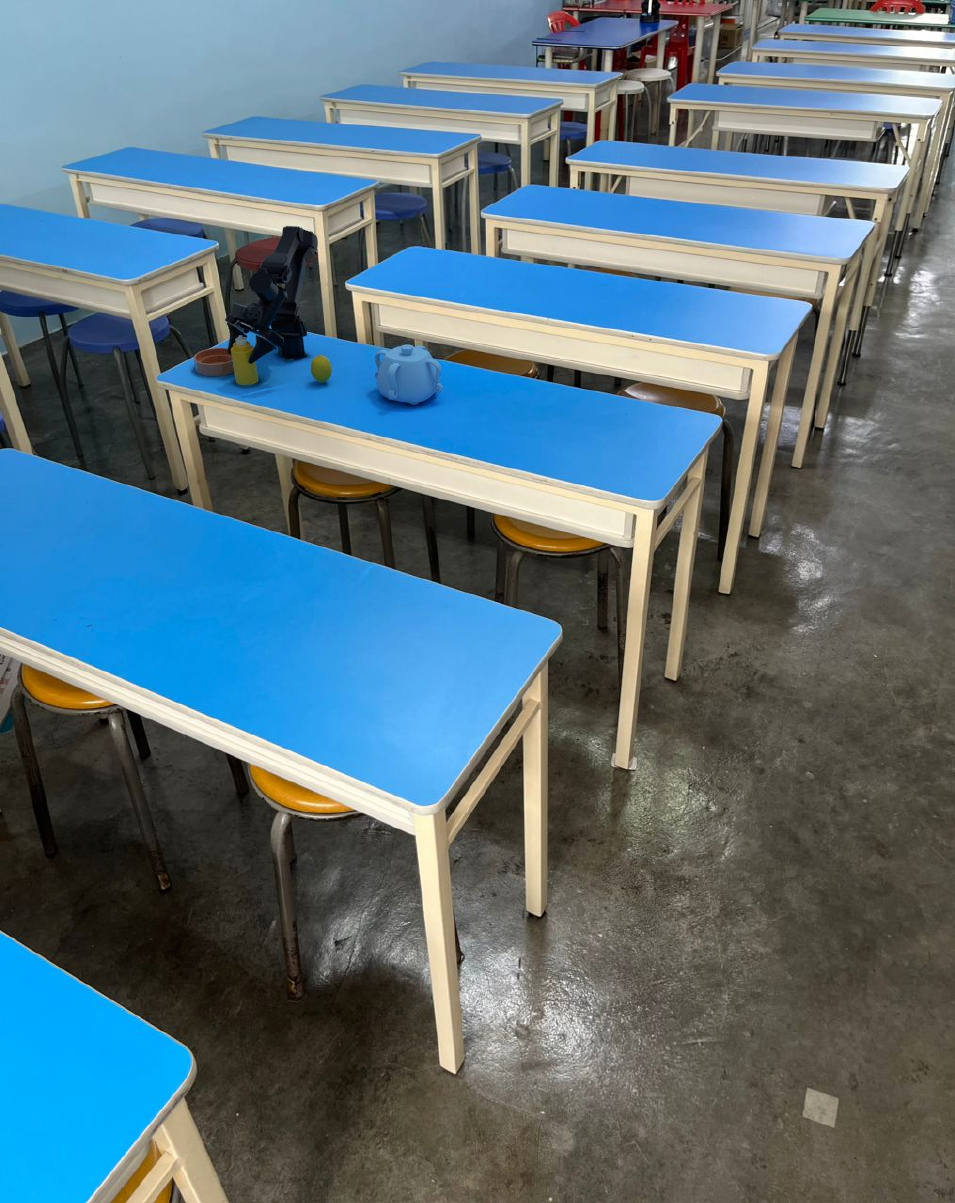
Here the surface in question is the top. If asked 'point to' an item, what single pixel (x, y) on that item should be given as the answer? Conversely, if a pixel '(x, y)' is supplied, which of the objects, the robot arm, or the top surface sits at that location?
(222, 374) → the bowl
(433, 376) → the decorative pot
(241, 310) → the robot arm
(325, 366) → the lemon
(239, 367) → the mustard bottle
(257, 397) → the top surface
